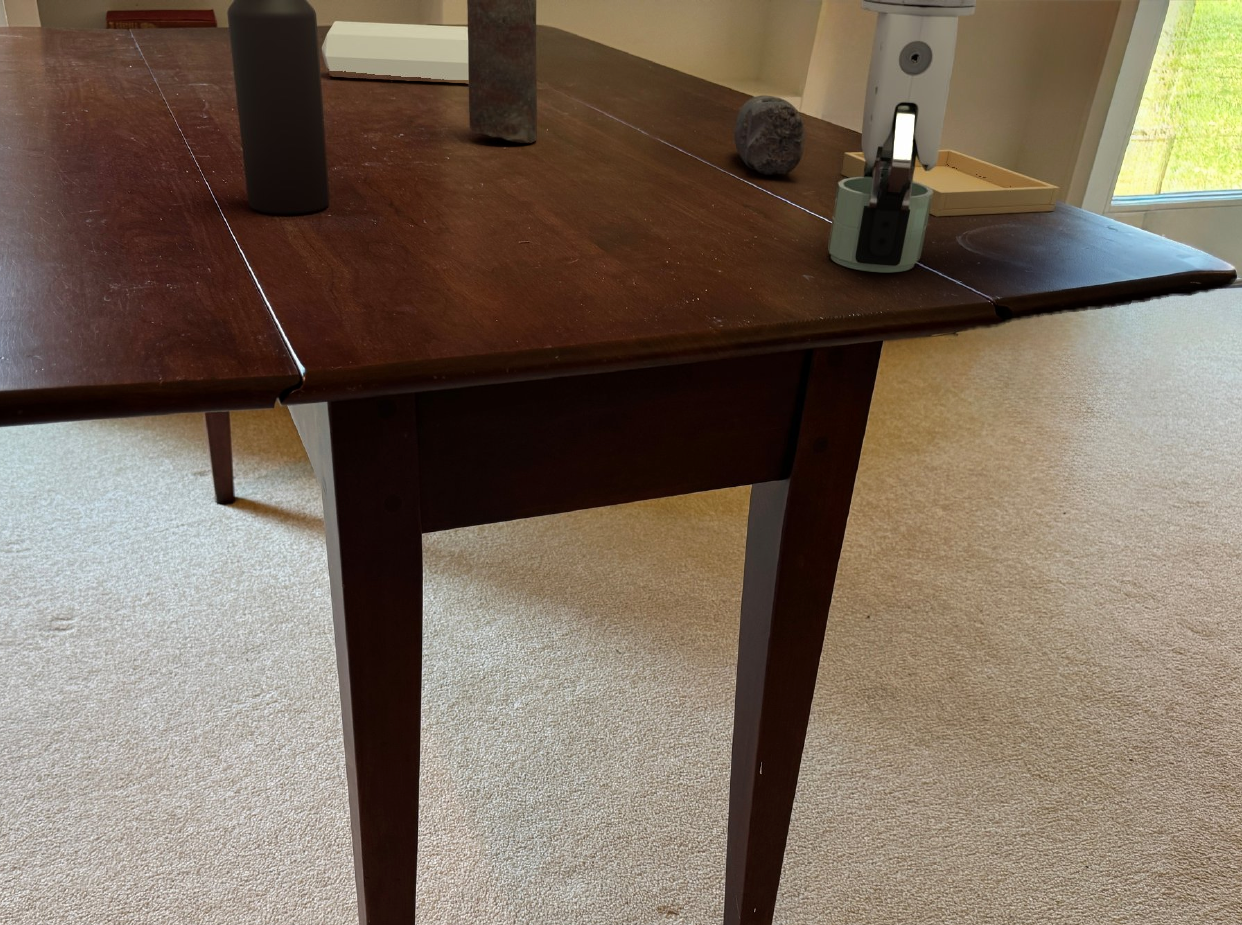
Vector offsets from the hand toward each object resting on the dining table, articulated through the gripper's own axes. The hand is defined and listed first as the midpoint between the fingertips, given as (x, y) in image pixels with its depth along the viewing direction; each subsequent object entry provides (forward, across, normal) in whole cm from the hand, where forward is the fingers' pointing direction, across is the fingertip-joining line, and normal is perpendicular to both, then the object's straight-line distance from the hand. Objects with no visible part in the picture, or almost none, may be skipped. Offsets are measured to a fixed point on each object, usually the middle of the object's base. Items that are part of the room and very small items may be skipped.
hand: (874, 247), depth 85 cm
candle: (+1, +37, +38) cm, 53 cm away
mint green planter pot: (+1, 0, 0) cm, 1 cm away
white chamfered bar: (+1, +76, +61) cm, 98 cm away
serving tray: (+1, +26, -8) cm, 28 cm away
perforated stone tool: (+1, +32, +10) cm, 34 cm away
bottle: (+1, +2, +48) cm, 48 cm away
